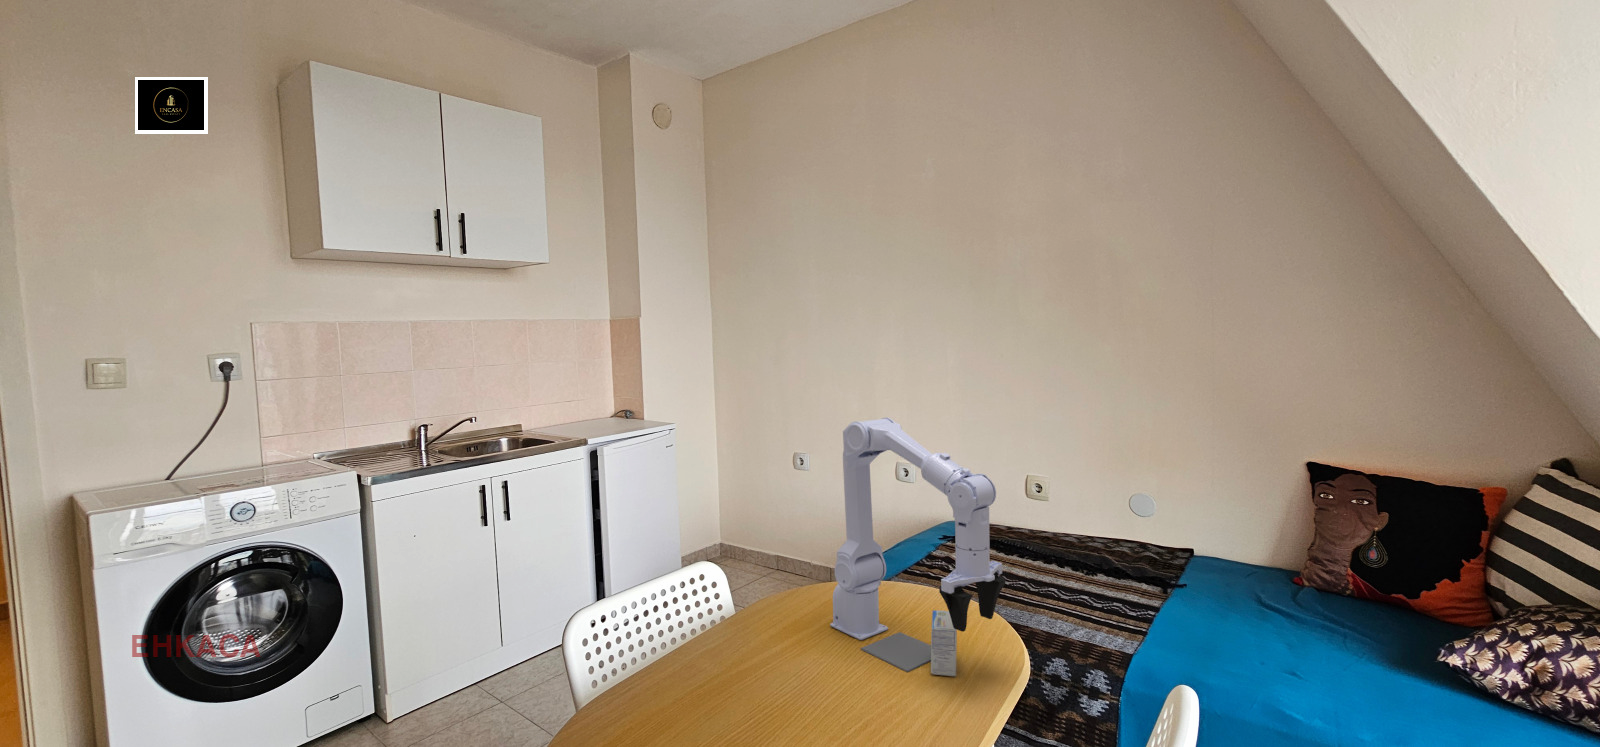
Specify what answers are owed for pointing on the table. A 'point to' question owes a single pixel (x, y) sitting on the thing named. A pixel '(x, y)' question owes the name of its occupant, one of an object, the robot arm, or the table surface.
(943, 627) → the medicine box
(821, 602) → the table surface
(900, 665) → the gray mat
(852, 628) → the robot arm
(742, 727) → the table surface
